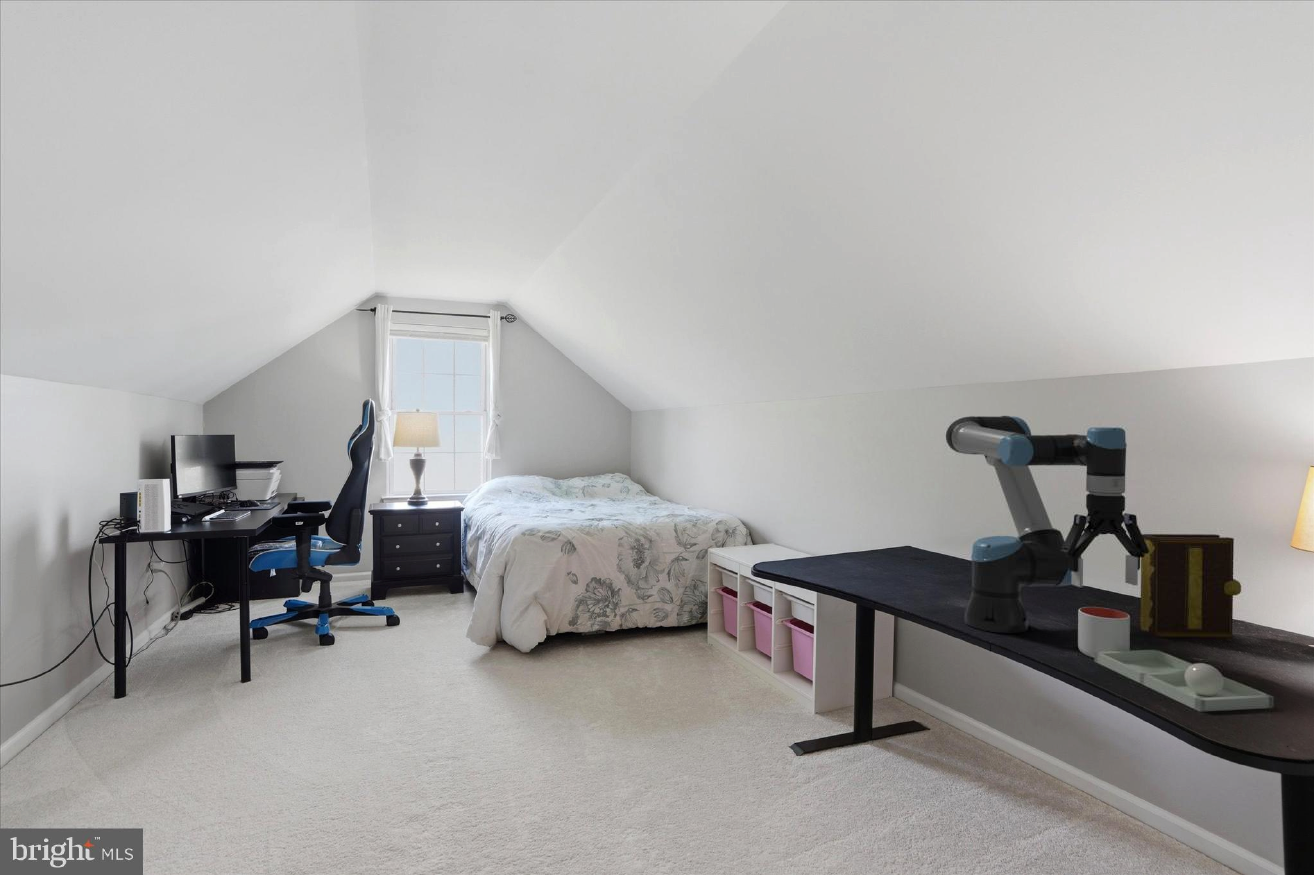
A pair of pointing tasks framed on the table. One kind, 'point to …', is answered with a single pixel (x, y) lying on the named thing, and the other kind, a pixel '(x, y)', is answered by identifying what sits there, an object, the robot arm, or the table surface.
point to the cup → (1102, 630)
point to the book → (1188, 585)
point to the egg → (1204, 679)
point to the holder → (1180, 681)
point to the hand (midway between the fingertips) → (1104, 584)
